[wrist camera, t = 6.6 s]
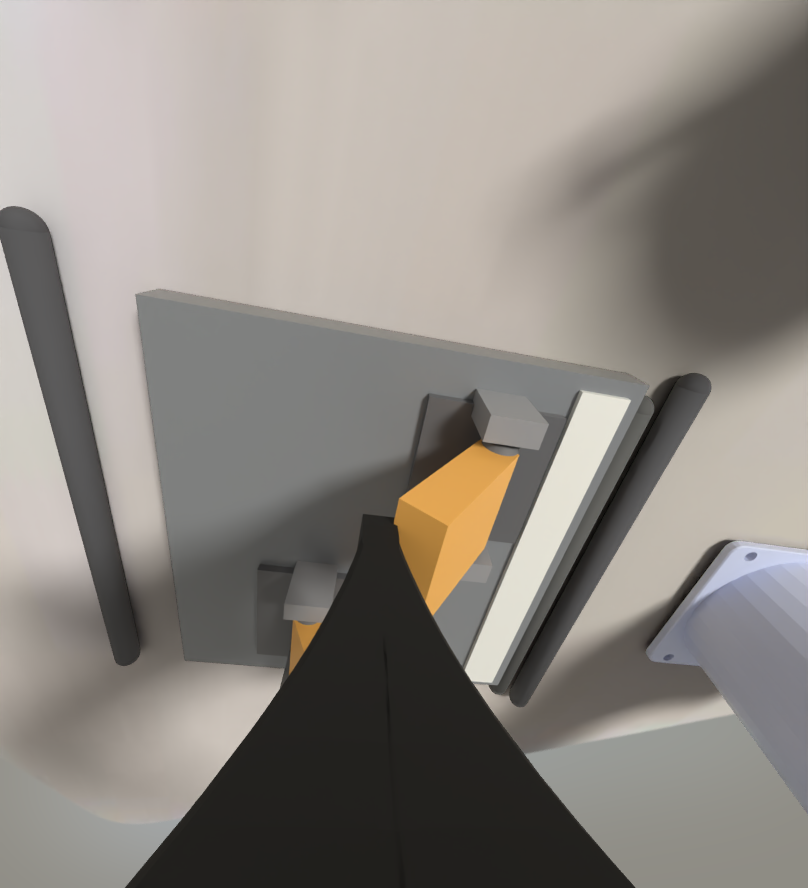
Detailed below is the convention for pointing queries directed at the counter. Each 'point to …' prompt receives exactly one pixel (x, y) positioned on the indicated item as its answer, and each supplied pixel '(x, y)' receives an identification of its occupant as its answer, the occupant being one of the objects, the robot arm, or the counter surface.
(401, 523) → the breaker lever
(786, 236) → the counter surface
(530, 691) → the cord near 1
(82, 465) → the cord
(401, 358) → the breaker panel
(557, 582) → the dark long thin strip
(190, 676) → the counter surface
